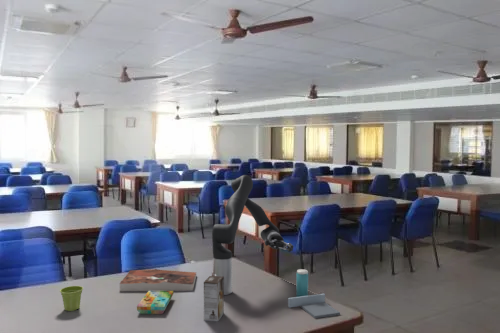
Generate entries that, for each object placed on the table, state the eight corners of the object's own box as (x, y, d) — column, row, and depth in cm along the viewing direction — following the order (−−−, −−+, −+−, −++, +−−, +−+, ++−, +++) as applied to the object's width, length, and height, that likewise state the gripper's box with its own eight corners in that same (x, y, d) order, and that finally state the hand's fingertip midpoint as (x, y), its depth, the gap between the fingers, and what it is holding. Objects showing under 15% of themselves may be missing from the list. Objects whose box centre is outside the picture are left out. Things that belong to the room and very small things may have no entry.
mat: (314, 318, 182) (314, 316, 182) (300, 307, 195) (300, 305, 194) (339, 314, 186) (340, 312, 186) (324, 304, 199) (324, 302, 199)
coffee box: (209, 312, 189) (209, 275, 188) (224, 313, 187) (224, 276, 187) (203, 320, 180) (203, 281, 179) (218, 321, 178) (218, 282, 178)
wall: (288, 307, 194) (289, 298, 194) (288, 306, 195) (288, 298, 195) (324, 302, 200) (324, 294, 200) (323, 302, 201) (323, 293, 201)
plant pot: (61, 314, 185) (60, 294, 185) (59, 307, 193) (59, 287, 193) (84, 310, 189) (84, 290, 189) (82, 303, 198) (81, 284, 197)
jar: (299, 300, 203) (299, 273, 202) (294, 296, 208) (294, 269, 207) (310, 299, 205) (310, 271, 204) (304, 295, 210) (304, 268, 209)
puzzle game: (136, 304, 185) (148, 288, 205) (136, 315, 185) (148, 298, 205) (164, 304, 185) (173, 289, 205) (164, 315, 185) (173, 299, 205)
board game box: (196, 277, 240) (196, 267, 239) (192, 291, 216) (192, 281, 216) (130, 277, 238) (130, 268, 238) (119, 292, 215) (119, 281, 214)
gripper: (286, 249, 233) (293, 258, 217) (260, 244, 231) (265, 252, 215) (289, 236, 233) (297, 243, 217) (264, 230, 231) (269, 237, 215)
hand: (281, 248), depth 216 cm, fingers open, 8 cm apart
